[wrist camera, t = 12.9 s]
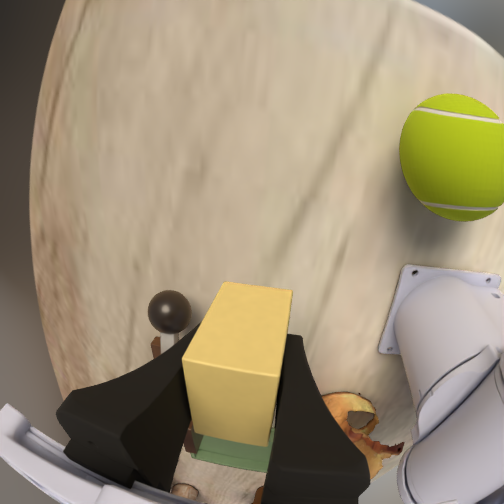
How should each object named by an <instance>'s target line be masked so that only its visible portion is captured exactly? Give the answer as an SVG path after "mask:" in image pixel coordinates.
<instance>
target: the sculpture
mask: <svg viewBox="0 0 504 504" xmlns="http://www.w3.org/2000/svg"><path fill="white" fill-rule="evenodd" d="M171 494H174V495H177V496H181V497H184V498H187V499H191V500H195V501H196V498H197V495H198V491H197V490H196V489H194V488H193V487H192V486H190V485H187V484H178V485H175V486H173V488H172V492H171Z"/></svg>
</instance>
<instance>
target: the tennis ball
mask: <svg viewBox="0 0 504 504" xmlns="http://www.w3.org/2000/svg"><path fill="white" fill-rule="evenodd" d="M399 154H400V162H401V167H402V171H403V174H404V177H405V179H406V182H407V184H408V186H409V188H410V190H411V191H412V193H413V194H414V195H415V197H416V198H417V199H418V200H419V201H420V202H421V203H422V204H423V205H424V206H425V207H426V208H427V209H429V210H430V211H432V212H433V213H435V214H437V215H439V216H441V217H443V218H446V219H450V220H454V221H474V220H478V219H481V218H484V217H486V216H488V215H490V214H492V213H493V212H495V211H496V210H497V209H498V206H501V205H502V204H503V202H504V124H503V123H502V122H501V121H500V120H499V117H498V116H497V115H496V114H495V113H494V112H493V111H492V110H491V109H490V108H488V107H487V106H486V105H484V104H483V103H481V102H479V101H478V100H476V99H473V98H471V97H468V96H464V95H459V94H442V95H437V96H434V97H431V98H429V99H427V100H425V101H423V102H422V103H420V104H419V105H418V106H417V107H416V108H415V109H414V111H412V112H411V113H410V115H409V116H408V118H407V120H406V122H405V124H404V127H403V129H402V133H401V138H400V147H399Z"/></svg>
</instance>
